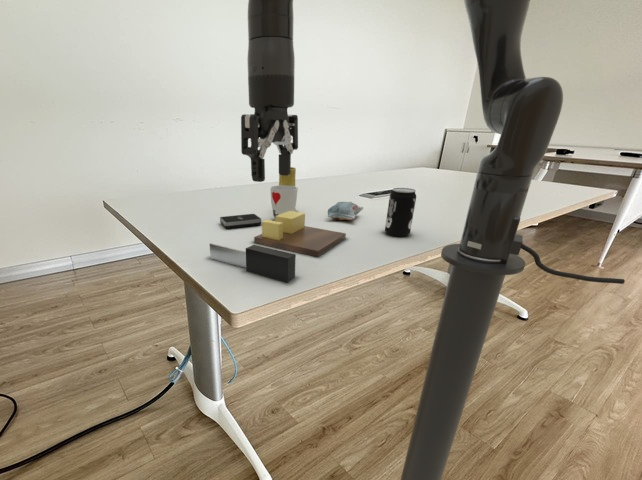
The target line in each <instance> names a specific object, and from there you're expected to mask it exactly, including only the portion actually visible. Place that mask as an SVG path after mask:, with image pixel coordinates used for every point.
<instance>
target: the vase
mask: <svg viewBox="0 0 642 480" xmlns="http://www.w3.org/2000/svg"><path fill="white" fill-rule="evenodd" d="M296 170H297V169H296V167H293V166H291V170H290V175H287V176H285V175H280V174H279V173H278V186H280V185H285V186H295V187H296V173H297V172H296ZM296 210H297V209H295V211H294V212H297V211H296Z"/></svg>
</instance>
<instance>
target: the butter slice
mask: <svg viewBox="0 0 642 480" xmlns="http://www.w3.org/2000/svg"><path fill="white" fill-rule="evenodd" d="M261 234H262V237H266V238H270V239H275V240H280V239H282V238H283V223H282V222H276V221H275V220H271V219H265V220H261Z"/></svg>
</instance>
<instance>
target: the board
mask: <svg viewBox="0 0 642 480" xmlns="http://www.w3.org/2000/svg"><path fill="white" fill-rule="evenodd" d="M346 236H347V233H346V232H340V231H335V230H329V229H324V228H318V227H313V226H307V225H305V227H304V228H302V229H300V230H298V231H296V232H294V233H292V234H290V233H285V232H283V238H282V239H280V240H275V239H270V238H266V237H262V233H260V234H258V235H255V236H254V237H253V240H254V241H253V242H254V243H255V244H259V245H264V246H268V247H272V248H277V249H281V250H286V251H290V252H294V253H299V254H302V255H307V256H312V257H315V258H319V257H321V256H323V254H324V253H325V254H326V252H328V251H329V250H331V249H333V248H334V247H335V246H338V245H339V244H340V243H341V242H343V241H345V240H346V238H347V237H346Z"/></svg>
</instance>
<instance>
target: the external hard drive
mask: <svg viewBox="0 0 642 480" xmlns="http://www.w3.org/2000/svg"><path fill="white" fill-rule="evenodd" d="M219 223H220V224H221V225H222V226H223V227H224V228H225V229H237V228H245V227H246V228H247V227H255V226H262V218H261V217H260V216H258V215H257V214H256V213H247V214H245V213H244V214H236V215H235V214H234V215H226V216H220V217H219Z"/></svg>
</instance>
